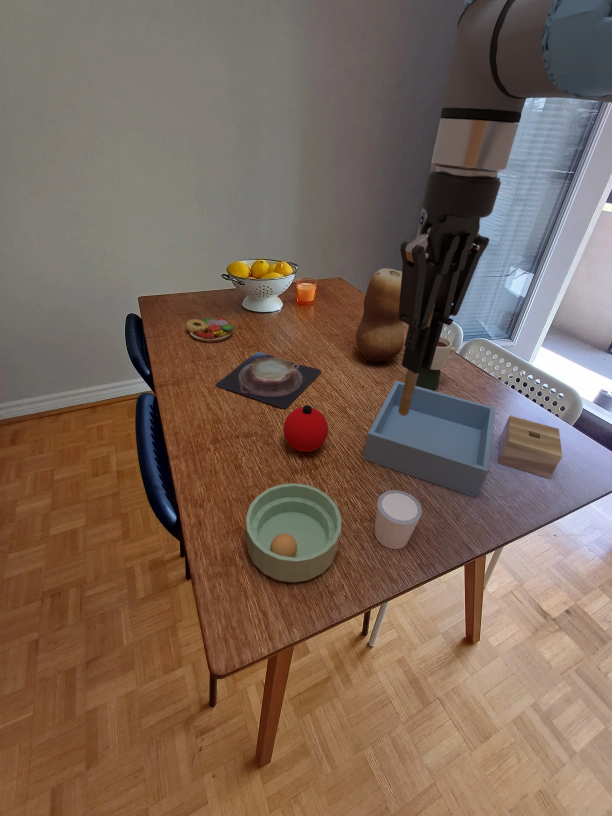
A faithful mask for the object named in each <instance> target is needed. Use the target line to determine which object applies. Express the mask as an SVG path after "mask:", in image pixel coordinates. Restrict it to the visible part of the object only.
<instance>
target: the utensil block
mask: <svg viewBox="0 0 612 816" xmlns="http://www.w3.org/2000/svg"><path fill="white" fill-rule="evenodd" d="M560 434H561V433H560V428H558V427H553V426H551V425H547V424H543V423H540V422H535V421H533V420H528V419H525V418H520V417H517V416H514V415H509V416H508V418H507V420H506V422H505V425H504V427H503V429H502V432H501V433H500V436H499V446H498V447H499V448H498V460H497V461H498V462H497V463H498V464H500V465H503V466H507V467H510V468H513V469H516V470H519V471H523V472H525V473H529V474H532V475H535V476H538V477H542V478H545V479H548V480H550V479H551V477H552V475H553V473H554V472H555V470H556V468H557V467H558V465H559V463H560V462H561V460H562V458H563V451H562V443H561V436H560Z"/></svg>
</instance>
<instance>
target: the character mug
mask: <svg viewBox="0 0 612 816" xmlns="http://www.w3.org/2000/svg"><path fill="white" fill-rule="evenodd" d="M456 349H457V348H456V347H455V346H453V342H452V340H451V339H449V338H446V337H444V336H441V335H440V339H439V341H438V344H437V347H436V351H435V354H434V358H433V362H432V365H431V369H428V370H426V369H424V368H423V367H421V369H420V373H419V374H418V378H417V382H416V386H418V387H421V388H425V389H429V390H432V391H436V390H437V389H438V387H439V385H440V384H439V383H440V378H441V370H443V369H444V368H445V367H446V366H447V364H448V360H452V359H454V356H455V353H456Z"/></svg>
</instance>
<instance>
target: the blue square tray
mask: <svg viewBox="0 0 612 816" xmlns="http://www.w3.org/2000/svg"><path fill="white" fill-rule="evenodd" d="M404 383H405V382H402V381H399V380H395V381H394V383H393V385H392V387H391V389H390V390H389V392H388V395H387V396H386V399H385V400H384V402H383V404H382V406H381V407H380V409H379V412H378V413H377V415H376V417H375V419H374V421H373V423H372V424H371V427H370V428H369V430H368V433H367V436H366V441H365V445H364V451H363V456H362V460H364V461H367V462H369V463H372V464H375V465H379V466H382V467H385V468H388V469H390V470H394V471H396V472H400V473H402V474H405V475H408V476H411V477H413V478H417V479H420V480H423V481H426V482H429V483H431V484H433V485H437V486H440V487H444V488H446V489H449V490H451V491H454V492H458V493H461V494H464V495H467V496H470V497H472V498H475V499H476V498H478V496H479V494H480V491H481V489H482V487H483V485H484V482H485V480H486V479H487V475H488V474H489V470H490V461H491V451H492V443H493V431H494V423H495V422H494V421H495V415H496V407H495V406H492V405H487V404H485V403H480V402H477V401H472V400H469V399H465V398H462V397H458V396H454V395H451V394H447V393H443V392H439V391H436V390H429V389H425V388H421V387H418V386H417V385H416V386H415V390H414V394H413V399H412V403H411V407H410V411H409V414H408V415H406V416H402V415H400V414H399V406H400V401H401V397H402V392H403V388H404Z"/></svg>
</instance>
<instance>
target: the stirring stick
mask: <svg viewBox="0 0 612 816" xmlns="http://www.w3.org/2000/svg"><path fill="white" fill-rule="evenodd" d="M434 307H435V303H434V306H433V309H432V312H431V315H430V319H429V322H428V325H427V327H429V328H430V324H431V320H432V316H433V311H434ZM418 374H419V373H417V374H415V373H413V372H412V371H410V370H408V369H407V370H406V375H405V379H404V382H403V383H404V388H403V392H402V397H401V401H400V406H399V414H400V415H402V416H406V415H408V414H409V411H410V407H411V403H412V399H413V394H414V390H415V386H417V385H416V382H417V378H418Z"/></svg>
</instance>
